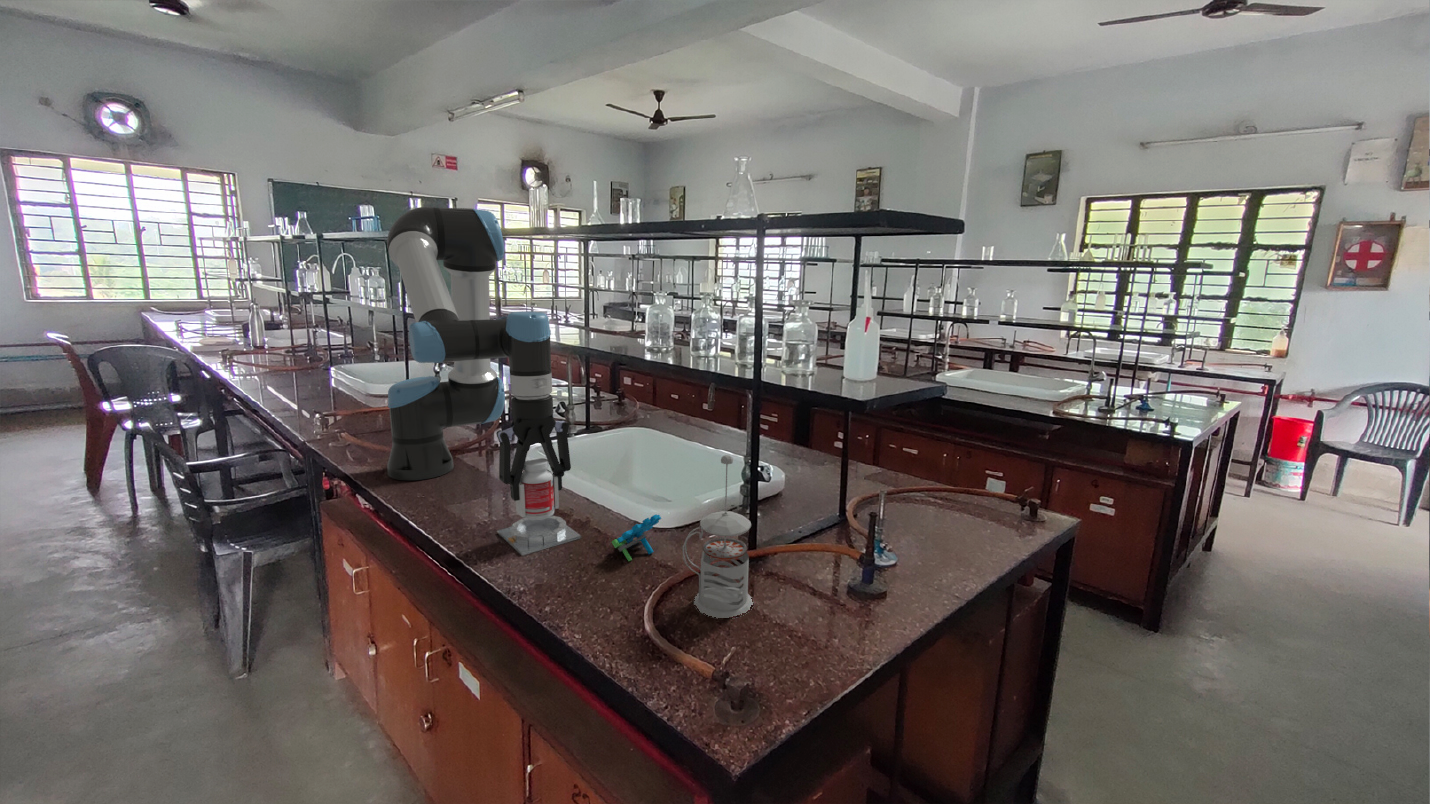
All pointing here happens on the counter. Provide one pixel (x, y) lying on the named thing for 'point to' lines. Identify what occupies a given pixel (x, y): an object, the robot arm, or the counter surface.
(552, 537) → the duct flange
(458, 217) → the robot arm
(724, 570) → the french press
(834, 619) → the counter surface
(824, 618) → the counter surface
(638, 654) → the counter surface
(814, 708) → the counter surface
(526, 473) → the pill bottle
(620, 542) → the blue knobbed piece
